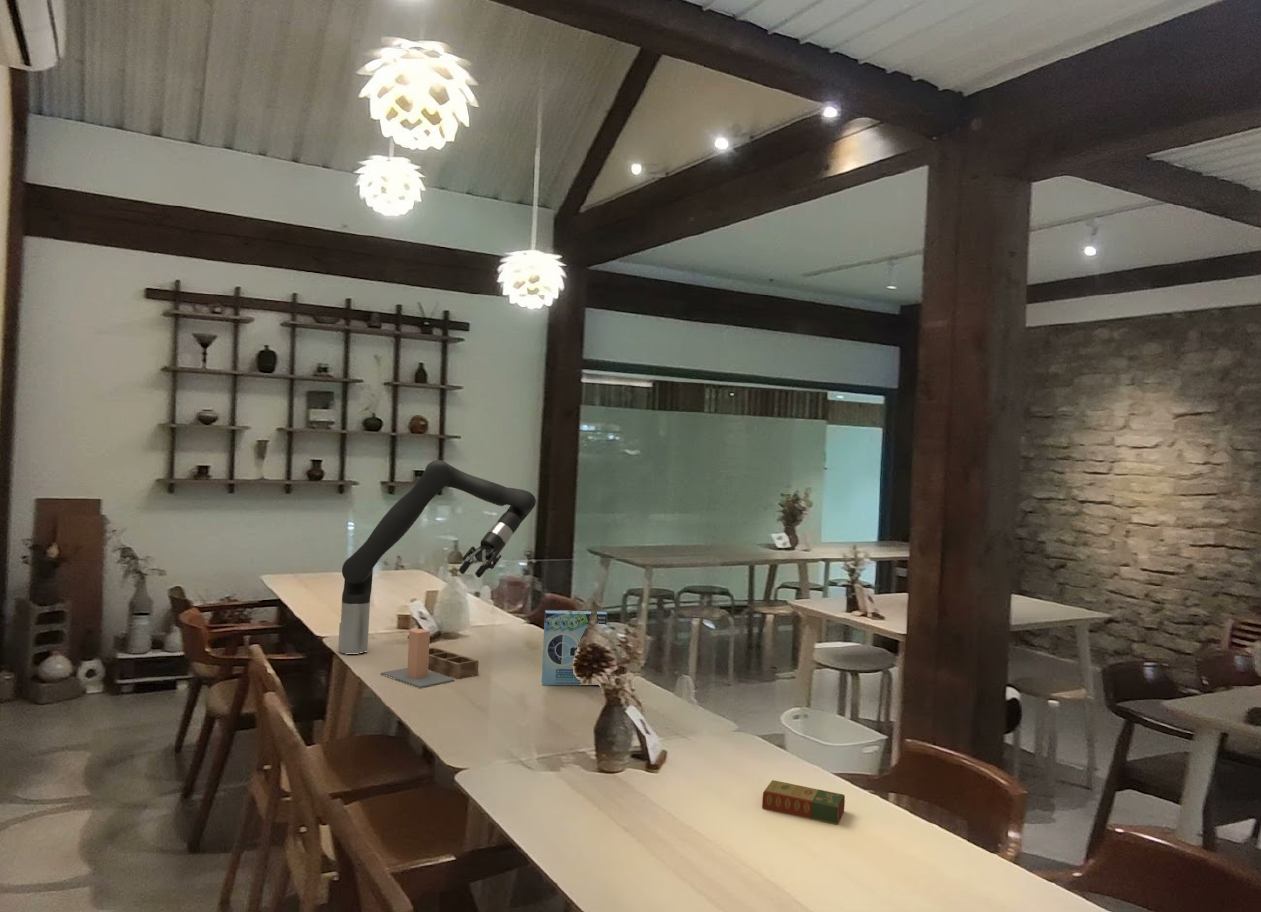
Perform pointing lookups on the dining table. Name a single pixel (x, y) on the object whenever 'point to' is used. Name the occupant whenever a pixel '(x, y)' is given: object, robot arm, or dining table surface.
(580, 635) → the gum box
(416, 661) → the block
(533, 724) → the dining table surface
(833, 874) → the dining table surface
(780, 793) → the carton
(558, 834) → the dining table surface
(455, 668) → the stand
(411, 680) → the mat
